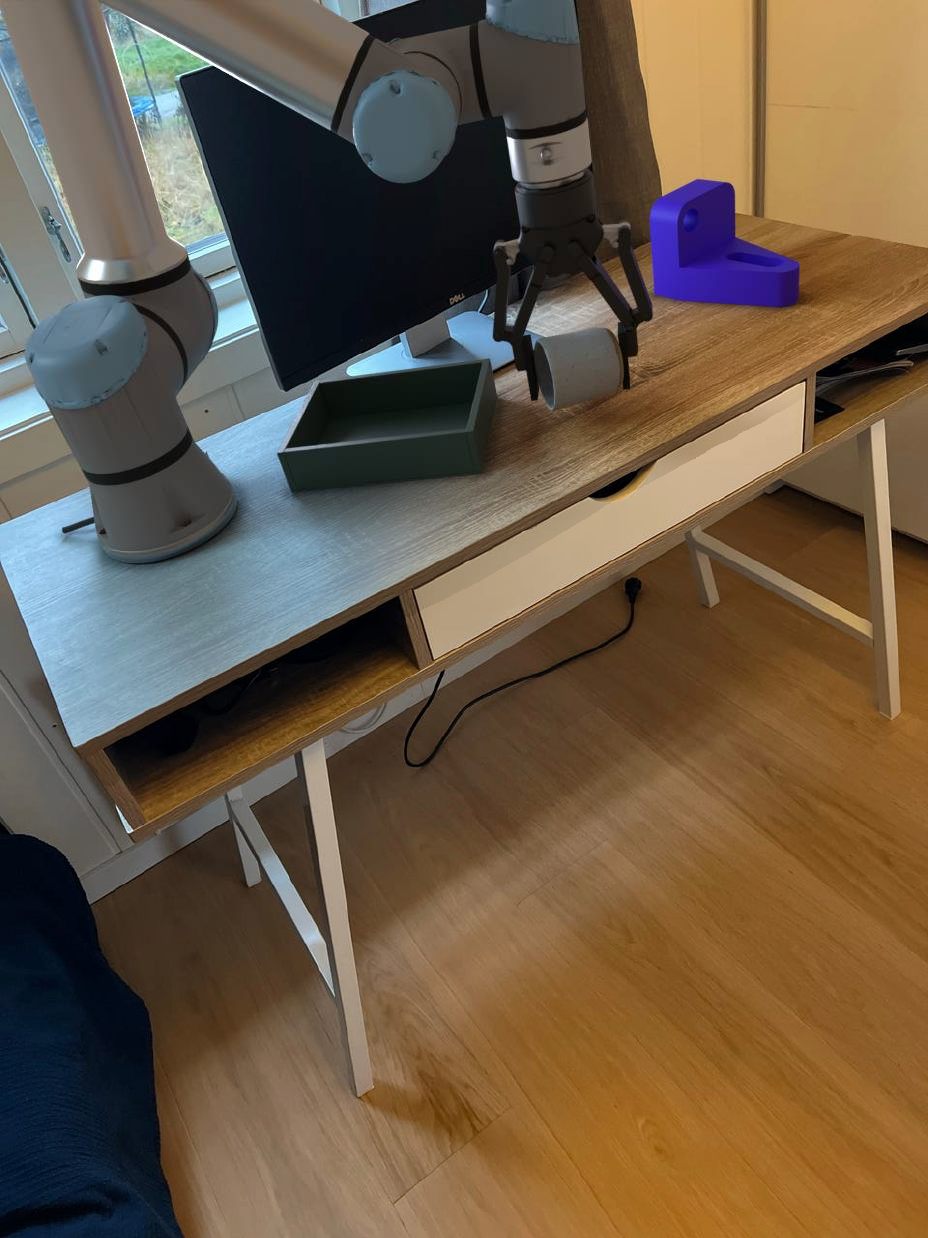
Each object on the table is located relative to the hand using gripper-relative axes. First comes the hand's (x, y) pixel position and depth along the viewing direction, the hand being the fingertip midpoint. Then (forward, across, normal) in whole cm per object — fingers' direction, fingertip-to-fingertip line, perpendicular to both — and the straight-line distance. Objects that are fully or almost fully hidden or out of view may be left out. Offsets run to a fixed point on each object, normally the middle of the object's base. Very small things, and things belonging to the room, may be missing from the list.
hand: (580, 389), depth 102 cm
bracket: (+3, +19, +27) cm, 33 cm away
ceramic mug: (+1, 0, 0) cm, 1 cm away
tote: (+2, -21, -3) cm, 21 cm away
